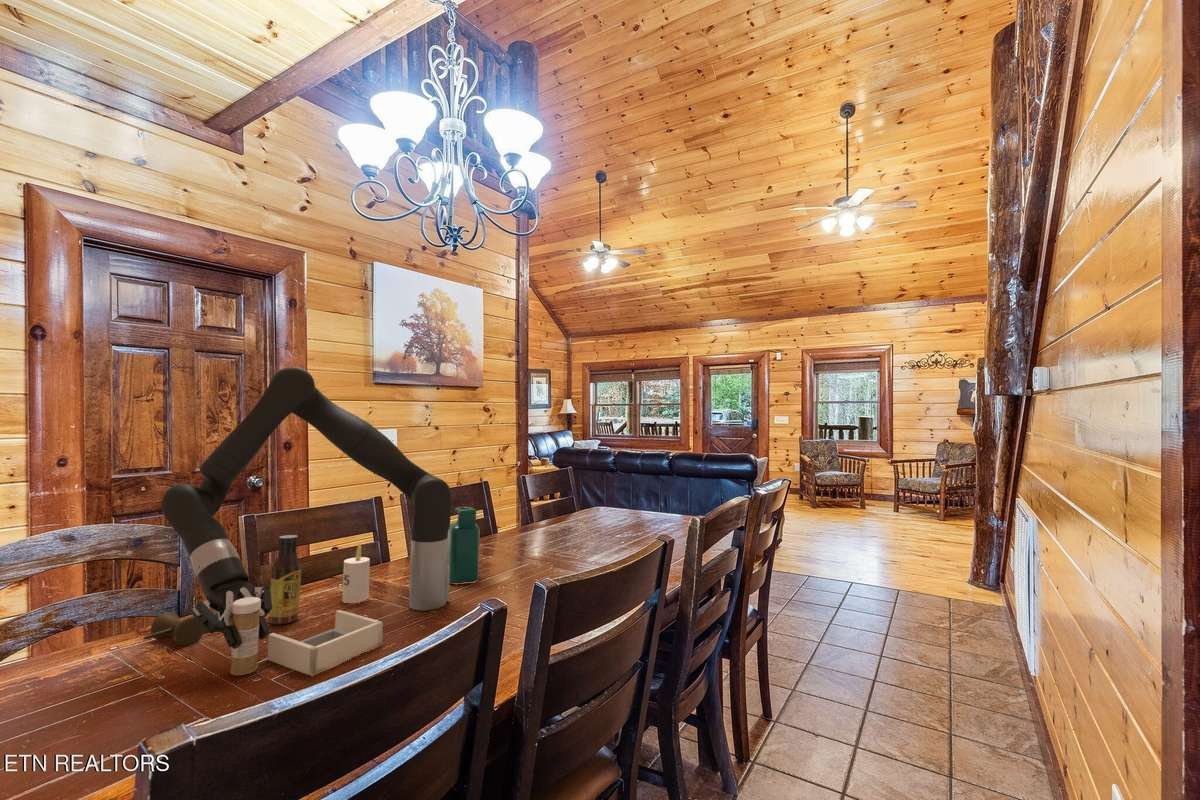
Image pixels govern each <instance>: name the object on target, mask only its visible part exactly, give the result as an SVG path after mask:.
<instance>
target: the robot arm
mask: <svg viewBox="0 0 1200 800" xmlns="http://www.w3.org/2000/svg"><path fill="white" fill-rule="evenodd" d="M291 414H293V415H295V416H297V417H299V418H300V419H301V420H303V421H305V422H306V423H308V424H309V425H311V426H312V427H313V428H314V429H316V430H317V431H318V432H319V433H321V435H322V436H324V437H325V439H326V440H328V441H330V443H331V444H332V445H333V446H335V447H336V448H337V449H339V450H340V451H341V452H342V453H343V454H344V455H346V456H348V457H349V458H350V459H351V460H352V461H354V462H355V463H357V464H358V465H360V466H361V467H363V468H364V469H366V470H368V471H369V472H371V473H373V474H374V475H376V476H378V477H380V478H382V479H384V480H386V481H388V482H389V483H390V484H392V485H393V486H394V487H395V488H396V489H398V490H399V491H400V492H401V493H402V494H404V496H406V497H407V498H408V499H409V501H411V503H412V504H413V506H414V507H413V509H414V510H413V524H412V528H411V531H410V534H411V535H410V563H409V566H410V567H409V590H408V591H409V593H408V595H409V597H408V598H409V599H408V600H409V601H408V602H409V603H408V607H409V608H410V609H411V608H412V610H415V611H433V610H436V609H440V607H441V608H442V606H443V607H444V606H445V605H446V604H447V603H448V602H449V601H450V599H449V597H450V583H449V573H450V566H449V565H447V547H448V530H449V527H450V524H451V515H452V514H451V513H452V491H451V488H450V485H448V483H447V482H446V481H445V480H443V479H441V478H439V477H438V476H435V475H433V474H431V473H429V472H428V471H426V470H424V469H422V468H421V467H420V466H418V465H416V464H415V463H414V462H412V461H411V460H410V459H408V458H407V456H406V455H405V454H404V453H403V452H402V451H401V450H400V449H399V448H398V447H397V445H395V444H394V443H393V441H391V440H390V439H389V438H388V437H387V436H386V435H385V434H384V433H382V432H381V431H380V430H378V429H377V428H376V427H375V426H373V425H372V424H371V423H369V422H367V421H366V420H365V419H363V418H361V417H359V416H358V415H356V414H354V413H352V412H350V411H348V410H346V409H344V408H343V407H340V406H338V405H337V404H336V403H334V402H333V401H331V400H330V399H329V398H328V397H326V396H325V395H324V394H323V392H321V391H320V390H319V389H318V388H317V387H316V383H315V379H314V377H313V375H311V373H310V372H309V371H308V370H307V369H304V368H301V367H299V366H287V367H284V368H280V369H279V370H278V371H276V372H275V373H274V374H273V375H272V377H271V378H270V381H269V384H268V386H267V387H266V389H265V391H264V392H263V393H262V396H261V397H260V398H259V400H258V401H257V403H256V405H254V407H253V408H252V409H251V411H249V412H248V414H247V415H246V416H245V418H243V420H241V422H240V423H238V425H237V426H236V427H235V428H234V429H233V430H232V431H231V432H230V433H229V434H228V435H227V436H226V437H225V438H224V439H223V440H222V442H220V443H219V444H218V445H217V447H216V448H215V449H214V450H213V451H212V452H211V454H209V456H208V457H207V458H205V460H204V461H203V462H202V464H201V465H200V467H199V472H200V474H201V475H202V477H204V478H203V480H202V483H201V484H200V486H199V487H198V486H195V485H193V484H189V483H180V484H176V485H173V486H171V487H170V488H169V489H167V490H166V491H165V492H164V494H163V496H162V499H161V510H162V513H163V515H164V517H165V519H166V520H167V522H168V523H169V525H171V527H172V528H173V530H174V531H175V533H176V534H177V535H178V536H179V537H180V539H182V541H183V543H184V546H185V550H186V551H187V554H188V556H189V558H190V561H191V567H192V569H193V571H194V575H195V576H196V579H197V581H198V584H199V586H200V589H201V590H202V593H203V595H204V597H205V600H204V601H198V602H197V603H196V604H195V606H194V607H193V609H192V610H191V614H192V616H194V617H195V618H196V619H197V620H198V621H199V622H200V623H201V624H202V625H203V626H204V628H205V631H207V632H208V633H209V634H215V633H221V634H222V635H223V636H224V639H225V642H226V644H227V646H228V647H229V648H231V649H232V648H233V649H235V648H238V647H239V646H240V644H241V643H242V640H241V638H240V636H239V633H238V631H237V629H236V627H235V625H233V612H232V607H233V602H235V601H236V600H239V599H242V598H247V597H254V595H255V597H258V598H260V599H261V608H260V611H259V641H260V640H263V639H266V638H267V637H268V636H269V634H270V633H269V632H270V625H269V624H268V623H269V622H268V621H267V620H266V617H267V616H269V612H270V611H271V610H272V600H271V590H270V586H271V585H270V584H268V583H267V584H265V585H264V586H261V587H259V586H257V587H256V586H255V585H253V584H252V583H251V582H250V580H249V579H250V578H249V575H248V572H247V571H246V568H245V566H244V563H243V562H242V560H241V558H240V555H239V554H238V552H237V549H236V548H235V546H234V545H233V543H232V541H231V539H230V538H229V535H228V533H227V531H226V529H225V527H224V526H223V524H222V523H221V522H220V521H219V520H217V519H216V518H215V517H214V516H215V515H216V514H217V513H218V512H219V510H221V509H220V508H221V507H222V505H223V503H224V502H225V500H226V497H227V495H228V494H229V492H230V490H231V487H232V485H233V482H234V481H235V480H236V479H238V477H239V476H240V475H241V473H242V472H243V471H244V470H245V469H246V468H247V466H248V465H249V464H250V463H251V462H252V461H253V459H254V458H255V456H256V455H258V453H259V451H260V450H261V449H262V447H263V446H264V444H265V443H266V442H267V440H268V439H269V437H270V436H271V435H272V434H273V432H274V431H275V430H276V429H277V428H278V426H280V424H281V423H282V422H283V421H284V420H286V419H287V417H288V416H290V415H291ZM447 601H448V602H447ZM211 609H213V610H216V611H218V617H219V619H218V618H217V617H216V616H215V615H214V614H213V613H212V611H213V610H211Z"/></svg>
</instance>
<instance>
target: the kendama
mask: <svg viewBox="0 0 1200 800" xmlns="http://www.w3.org/2000/svg"><path fill="white" fill-rule="evenodd" d="M211 611H212V613H213V614H214V615H215V616H216V617H217V618H218V619H219V617H218V611H216V610H214V609H213V610H211ZM205 631H206V629H205V628H204V626H203V625H202V624H201V623H200V622H199V621H198V620H197V619H196V618H195V617H194V616H193V615H192V616H189V617H186V618H185V619H180V616H179V615H178V613H175V612H172V611H170V612H164V613H162V614H159V615H158V616H157V617H156V618H154V620H153V621H152V623H151V626H150V634H148V635H146V636H144V637H143V640H150V639H154V640H159V641H160V640H166V639H169V638H170V637H174V640H175V643H176V644H177V645H178V646H180V647H187V646H186V645H188V646H190V645H189V644H191V645H194V644H195V642H196V643H197V642H198V641H200V640H201V639H202V637H203V635H204V634H205Z"/></svg>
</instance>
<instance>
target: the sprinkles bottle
mask: <svg viewBox="0 0 1200 800" xmlns="http://www.w3.org/2000/svg"><path fill="white" fill-rule="evenodd" d="M260 608H261V599H260V598H258V597H256V596H253V597H247V598H242V599H239V600H236V601H235V602H233V607H232V612H233V624H232V626H233V625H235V627H236V629H237V631H238V633H239V636H240V638H241V640H242V643H241V644H240V646H239V647H238V648H235V649H233V648H232V647H231V649H230V650H231V651H230V653H231V654H230V656H231V662H230V664H231V665H230V671H229V672H230V674H231V675H232V676H235V677H236V676H237V677H238V676H245V675H248V674H252V673H253V672H255V671H257V670H258V669H259V664H258V654H259V646H260V645H259V641H260V638H259V611H260Z"/></svg>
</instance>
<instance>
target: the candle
mask: <svg viewBox="0 0 1200 800" xmlns="http://www.w3.org/2000/svg"><path fill="white" fill-rule="evenodd" d="M370 563H371V561H370V558H369V557H366V556H362V543H361V542H359V543H358V545H357V549H356V553H355V557H350V558H347V559H344V561H343V573H342V574H343V580H342V603H343V602H344V603H343V604H345V603H356V602H361V601H364V600H366V599H368V597H370V594H369V592H370V591H369V590H370V567H371V566H370ZM368 600H369V599H368Z"/></svg>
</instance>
